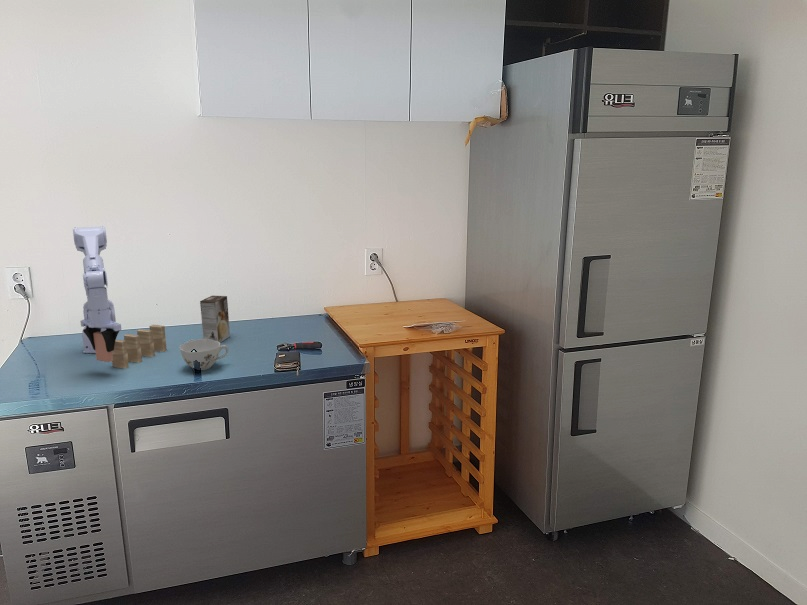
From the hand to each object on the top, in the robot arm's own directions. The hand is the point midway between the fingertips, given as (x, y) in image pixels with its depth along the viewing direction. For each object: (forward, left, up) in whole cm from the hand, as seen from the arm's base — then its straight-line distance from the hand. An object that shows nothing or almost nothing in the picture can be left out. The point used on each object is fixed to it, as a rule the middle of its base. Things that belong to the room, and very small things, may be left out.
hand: (103, 350), depth 197 cm
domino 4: (+7, +23, -8) cm, 25 cm away
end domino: (0, 0, -3) cm, 3 cm away
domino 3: (+6, +17, -8) cm, 20 cm away
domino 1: (+2, +6, -8) cm, 10 cm away
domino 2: (+4, +11, -8) cm, 14 cm away
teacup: (+30, +7, -8) cm, 32 cm away
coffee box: (+24, +36, -8) cm, 44 cm away
